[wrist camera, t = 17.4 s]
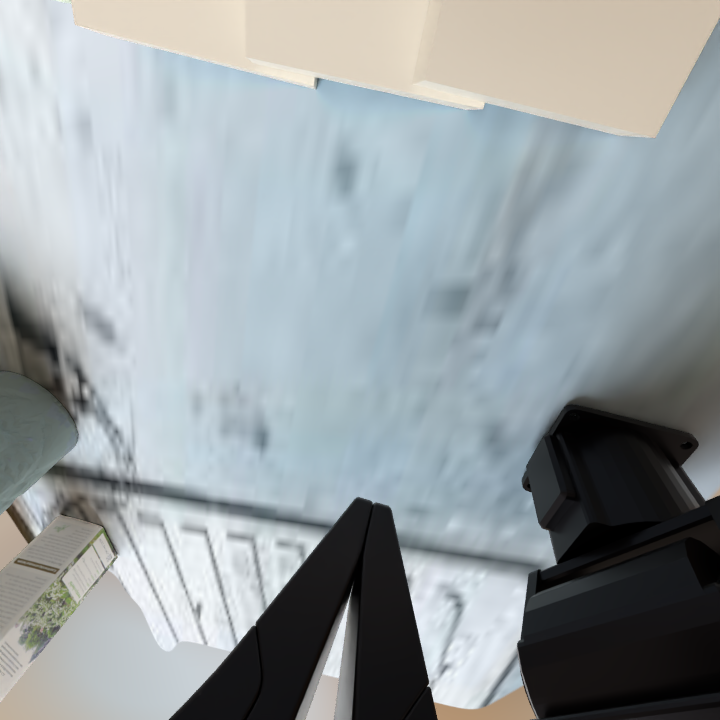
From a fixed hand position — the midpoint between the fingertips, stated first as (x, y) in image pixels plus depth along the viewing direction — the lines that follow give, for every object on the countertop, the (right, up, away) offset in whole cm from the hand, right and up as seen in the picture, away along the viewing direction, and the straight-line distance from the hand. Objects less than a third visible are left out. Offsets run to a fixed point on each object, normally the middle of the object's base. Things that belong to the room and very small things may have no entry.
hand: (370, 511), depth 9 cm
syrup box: (-30, -15, +31) cm, 46 cm away
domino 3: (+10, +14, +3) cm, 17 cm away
